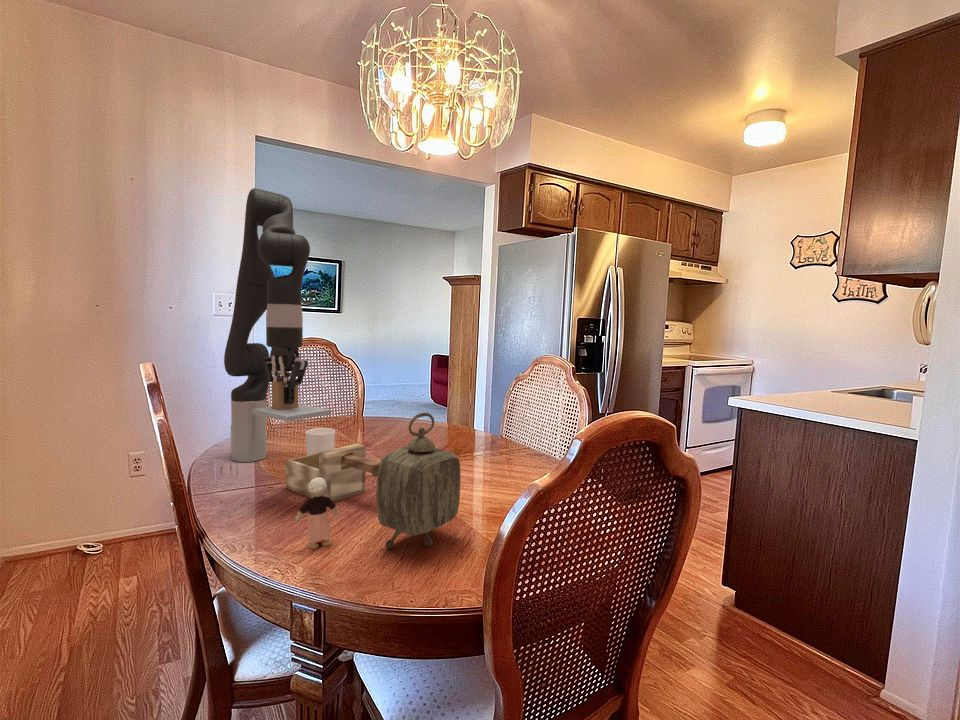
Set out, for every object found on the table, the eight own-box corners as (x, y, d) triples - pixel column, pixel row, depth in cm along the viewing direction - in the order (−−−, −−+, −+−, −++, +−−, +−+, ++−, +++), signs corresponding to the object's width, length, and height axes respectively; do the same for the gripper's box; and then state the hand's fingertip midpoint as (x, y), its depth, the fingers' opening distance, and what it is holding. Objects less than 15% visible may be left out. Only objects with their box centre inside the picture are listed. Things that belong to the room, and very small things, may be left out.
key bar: (340, 465, 117) (340, 455, 117) (351, 462, 120) (351, 452, 120) (375, 476, 110) (375, 465, 110) (386, 473, 113) (386, 462, 113)
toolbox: (285, 488, 124) (285, 442, 123) (323, 477, 133) (324, 434, 132) (326, 504, 115) (327, 454, 114) (364, 492, 123) (365, 445, 122)
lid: (252, 413, 112) (252, 381, 111) (296, 407, 121) (296, 378, 120) (287, 421, 105) (287, 387, 104) (331, 414, 114) (331, 383, 113)
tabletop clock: (426, 524, 106) (430, 405, 103) (461, 536, 100) (466, 411, 98) (375, 549, 94) (377, 415, 92) (412, 565, 89) (415, 423, 86)
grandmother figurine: (331, 535, 99) (332, 471, 98) (340, 542, 96) (341, 477, 95) (292, 546, 94) (292, 479, 93) (300, 554, 91) (300, 484, 90)
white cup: (326, 471, 138) (326, 435, 137) (299, 469, 140) (299, 433, 139) (339, 463, 146) (340, 429, 145) (314, 461, 147) (314, 427, 146)
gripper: (318, 326, 112) (318, 404, 113) (281, 324, 120) (281, 397, 121) (288, 326, 106) (289, 409, 107) (250, 324, 114) (251, 401, 115)
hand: (284, 402), depth 114 cm, fingers closed on lid, 2 cm apart
